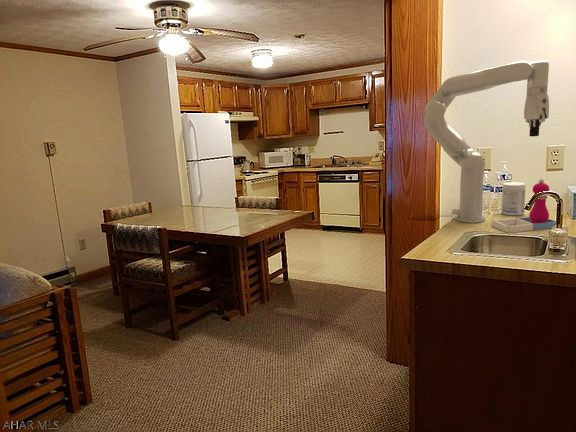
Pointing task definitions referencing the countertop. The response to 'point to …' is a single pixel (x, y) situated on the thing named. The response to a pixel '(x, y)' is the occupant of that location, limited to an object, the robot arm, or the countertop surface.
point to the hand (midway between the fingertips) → (534, 136)
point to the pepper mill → (539, 204)
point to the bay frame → (521, 224)
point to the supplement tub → (513, 198)
